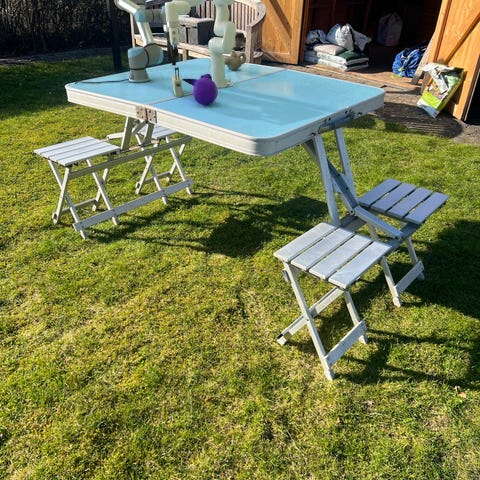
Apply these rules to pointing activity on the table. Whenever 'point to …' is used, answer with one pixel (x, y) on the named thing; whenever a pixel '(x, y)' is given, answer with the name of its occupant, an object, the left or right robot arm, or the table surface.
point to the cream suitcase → (177, 88)
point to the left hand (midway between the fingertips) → (172, 64)
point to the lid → (176, 76)
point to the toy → (204, 89)
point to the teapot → (235, 60)
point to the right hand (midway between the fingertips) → (175, 55)
